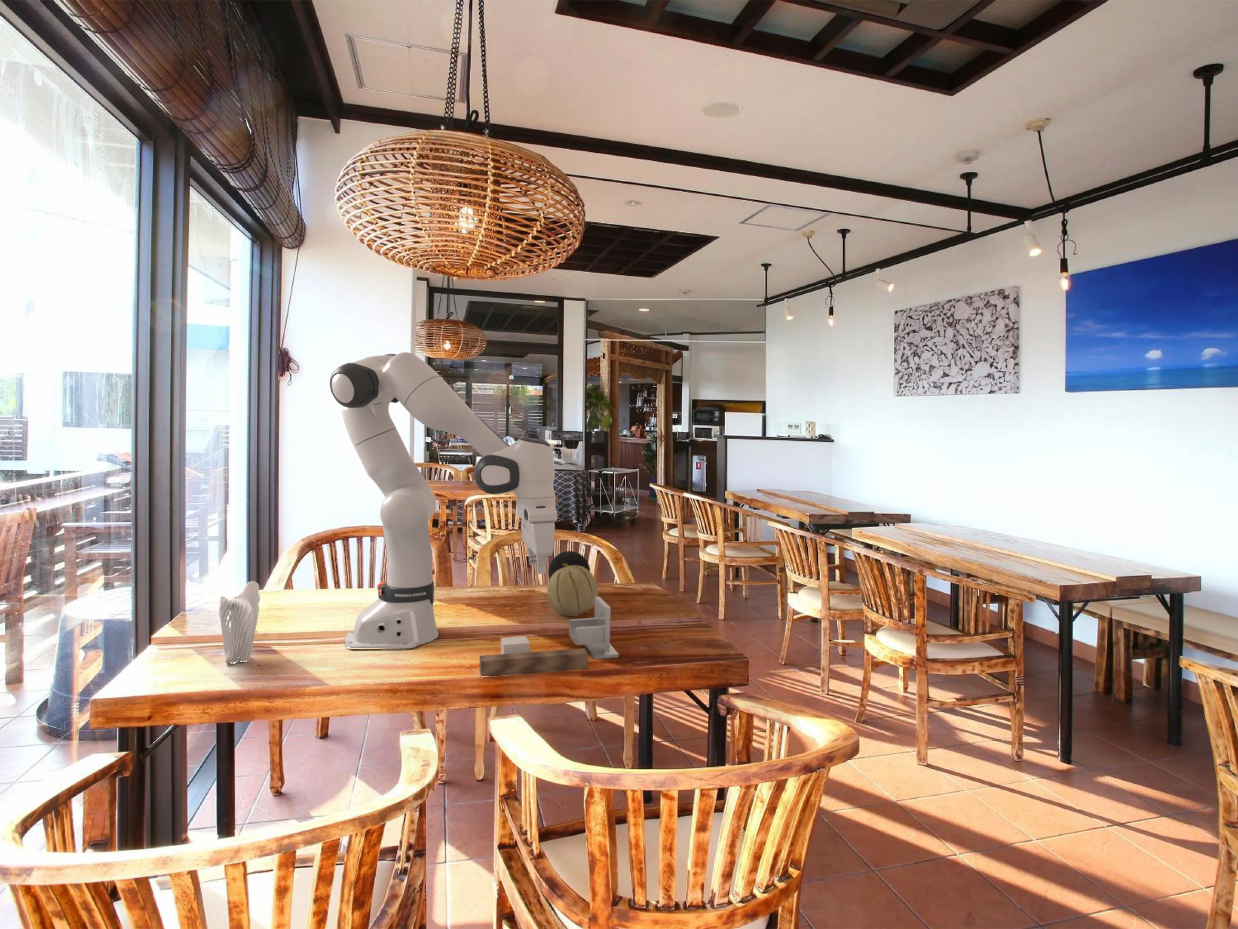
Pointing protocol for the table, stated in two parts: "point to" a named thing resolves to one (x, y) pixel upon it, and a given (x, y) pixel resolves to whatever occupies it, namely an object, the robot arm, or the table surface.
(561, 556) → the black rounded lump
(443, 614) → the table surface
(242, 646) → the shell sculpture
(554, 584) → the cantaloupe
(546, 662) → the walnut rail
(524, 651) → the pale grey block
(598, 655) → the bracket
